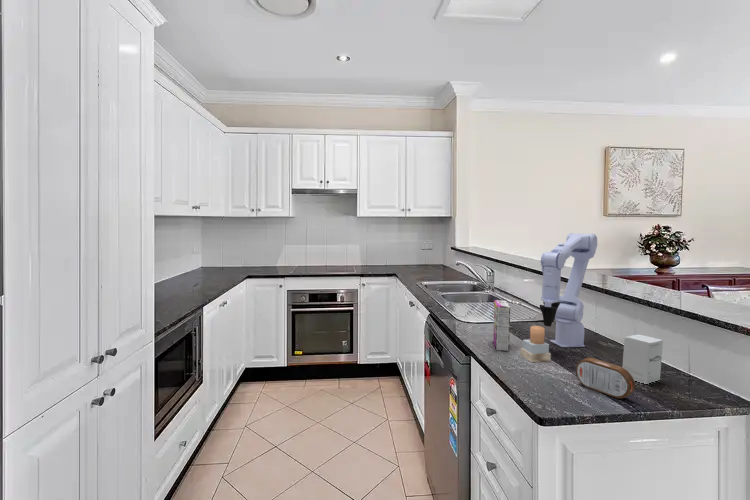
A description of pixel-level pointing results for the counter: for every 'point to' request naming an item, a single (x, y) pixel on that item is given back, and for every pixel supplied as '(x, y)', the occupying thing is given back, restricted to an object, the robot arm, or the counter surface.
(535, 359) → the birch base block
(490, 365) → the counter surface
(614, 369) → the tin
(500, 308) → the candy bar box
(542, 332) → the light brown cylinder
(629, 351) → the supplement box
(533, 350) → the grey-blue top block
